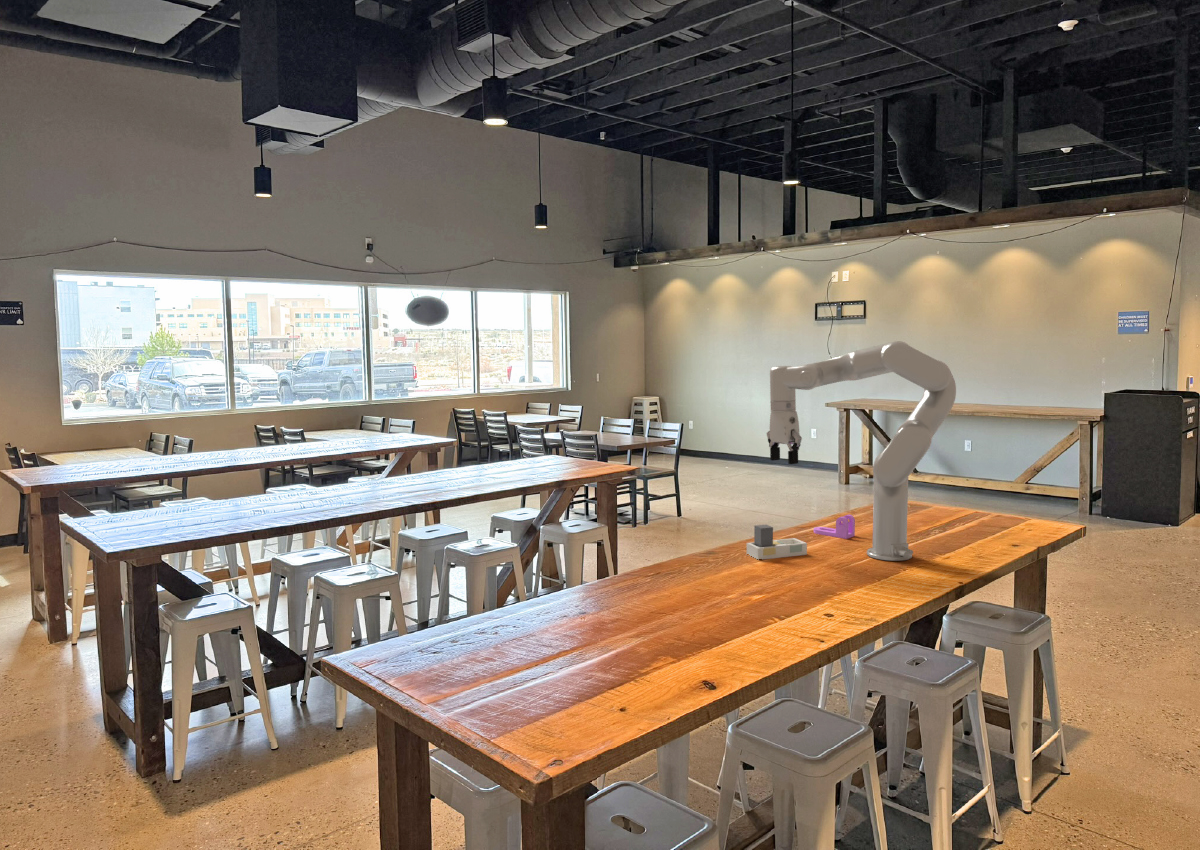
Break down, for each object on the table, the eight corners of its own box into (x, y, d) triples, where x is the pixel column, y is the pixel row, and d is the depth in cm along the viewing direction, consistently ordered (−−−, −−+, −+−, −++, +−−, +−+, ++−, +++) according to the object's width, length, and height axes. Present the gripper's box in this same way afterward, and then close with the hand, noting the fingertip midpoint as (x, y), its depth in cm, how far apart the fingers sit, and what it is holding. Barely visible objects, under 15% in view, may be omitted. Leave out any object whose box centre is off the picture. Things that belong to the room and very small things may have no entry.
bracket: (854, 536, 267) (855, 515, 266) (846, 539, 263) (846, 518, 262) (819, 530, 276) (819, 510, 275) (810, 533, 272) (810, 512, 271)
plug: (772, 553, 242) (772, 527, 241) (760, 554, 241) (760, 528, 240) (766, 550, 246) (766, 524, 245) (754, 551, 245) (754, 525, 244)
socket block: (807, 554, 244) (807, 542, 244) (758, 560, 239) (758, 547, 239) (794, 549, 251) (794, 537, 250) (746, 554, 246) (746, 542, 245)
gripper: (810, 407, 242) (811, 464, 243) (777, 404, 258) (778, 457, 259) (788, 408, 239) (789, 466, 241) (757, 405, 255) (758, 459, 257)
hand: (784, 461), depth 250 cm, fingers open, 9 cm apart
